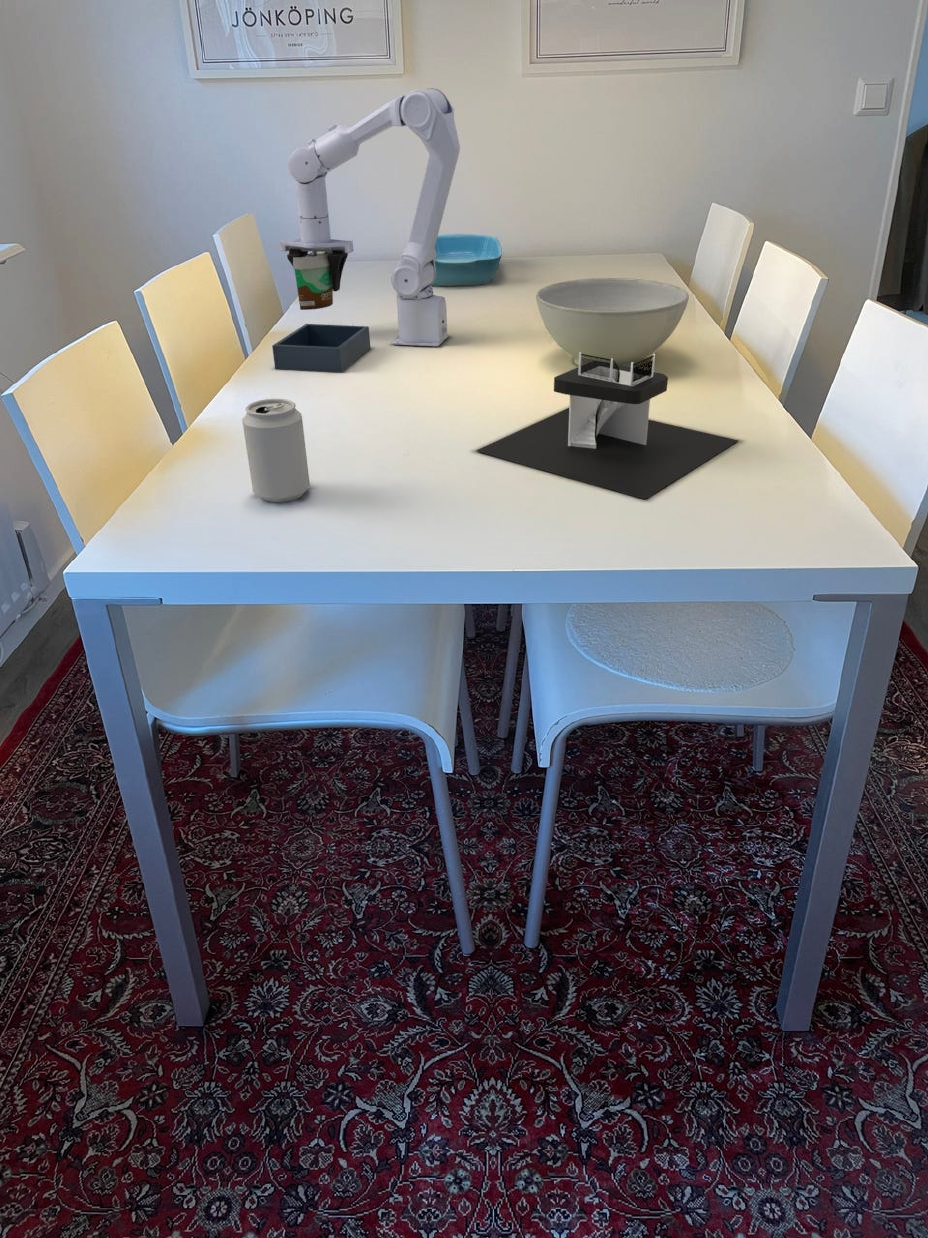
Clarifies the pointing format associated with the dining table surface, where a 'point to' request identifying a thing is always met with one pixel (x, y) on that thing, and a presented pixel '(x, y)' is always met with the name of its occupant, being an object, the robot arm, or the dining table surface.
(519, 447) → the black-topped pedestal
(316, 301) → the food container
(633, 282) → the decorative bowl
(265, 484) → the can
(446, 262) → the casserole dish
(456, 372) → the dining table surface
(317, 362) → the tote
